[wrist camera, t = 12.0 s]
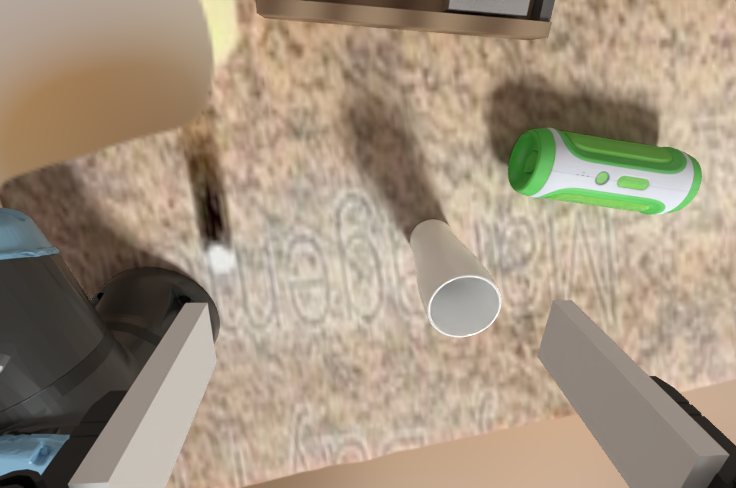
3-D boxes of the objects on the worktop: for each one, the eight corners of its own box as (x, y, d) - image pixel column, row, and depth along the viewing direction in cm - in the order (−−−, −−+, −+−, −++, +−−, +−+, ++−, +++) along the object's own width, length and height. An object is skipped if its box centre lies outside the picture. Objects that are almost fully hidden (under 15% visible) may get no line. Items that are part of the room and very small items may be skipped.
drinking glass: (407, 209, 45) (433, 270, 31) (463, 214, 46) (512, 276, 32) (399, 260, 48) (420, 336, 34) (452, 264, 48) (492, 340, 35)
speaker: (498, 184, 44) (525, 205, 38) (518, 119, 42) (551, 130, 35) (635, 204, 46) (685, 227, 40) (663, 144, 43) (722, 158, 37)
